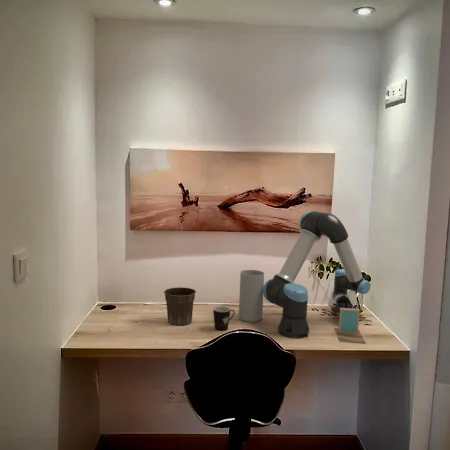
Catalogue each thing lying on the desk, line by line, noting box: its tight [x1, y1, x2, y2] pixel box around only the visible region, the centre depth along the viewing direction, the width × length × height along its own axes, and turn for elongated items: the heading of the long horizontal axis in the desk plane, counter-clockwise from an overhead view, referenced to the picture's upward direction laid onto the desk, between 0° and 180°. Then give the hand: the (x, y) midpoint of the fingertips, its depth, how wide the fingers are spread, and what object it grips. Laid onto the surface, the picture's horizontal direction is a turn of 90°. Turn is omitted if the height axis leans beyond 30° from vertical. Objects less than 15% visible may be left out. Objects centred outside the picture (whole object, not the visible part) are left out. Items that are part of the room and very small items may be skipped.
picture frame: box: [338, 308, 361, 334], centre depth 221 cm, size 2×9×12 cm, turn 84°
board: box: [333, 327, 367, 345], centre depth 219 cm, size 19×12×1 cm, turn 174°
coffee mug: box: [212, 306, 236, 332], centre depth 225 cm, size 12×9×10 cm
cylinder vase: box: [238, 269, 265, 323], centre depth 240 cm, size 12×12×25 cm
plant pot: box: [163, 287, 197, 326], centre depth 232 cm, size 16×16×16 cm
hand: (350, 316), depth 223 cm, fingers closed
